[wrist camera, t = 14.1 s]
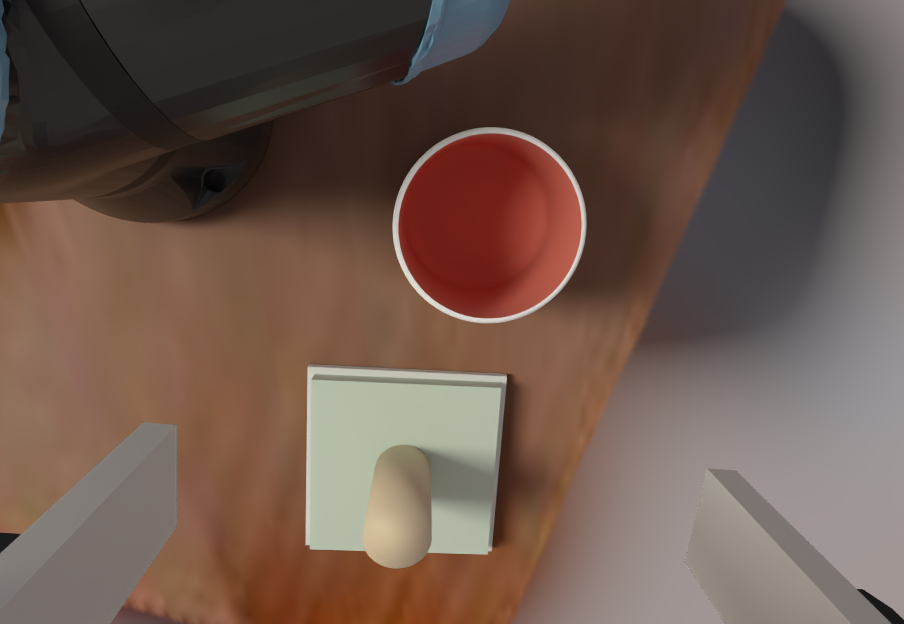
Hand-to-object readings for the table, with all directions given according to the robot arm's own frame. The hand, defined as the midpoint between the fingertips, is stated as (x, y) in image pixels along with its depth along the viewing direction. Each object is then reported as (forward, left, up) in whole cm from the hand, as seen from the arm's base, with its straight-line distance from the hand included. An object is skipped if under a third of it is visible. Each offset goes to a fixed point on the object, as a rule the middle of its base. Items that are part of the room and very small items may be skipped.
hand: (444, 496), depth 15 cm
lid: (-1, -13, -26) cm, 29 cm away
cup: (+2, +5, -27) cm, 28 cm away
